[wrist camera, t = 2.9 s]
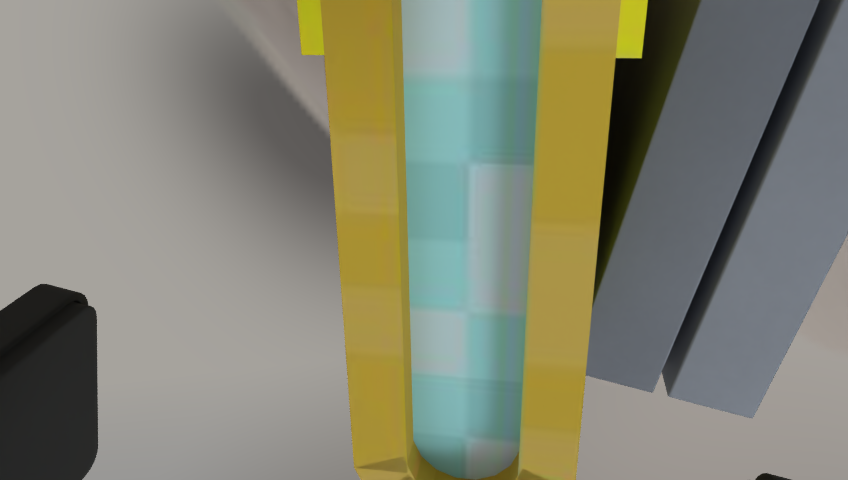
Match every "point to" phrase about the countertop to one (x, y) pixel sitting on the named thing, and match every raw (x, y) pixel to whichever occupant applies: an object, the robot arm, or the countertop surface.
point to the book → (468, 223)
